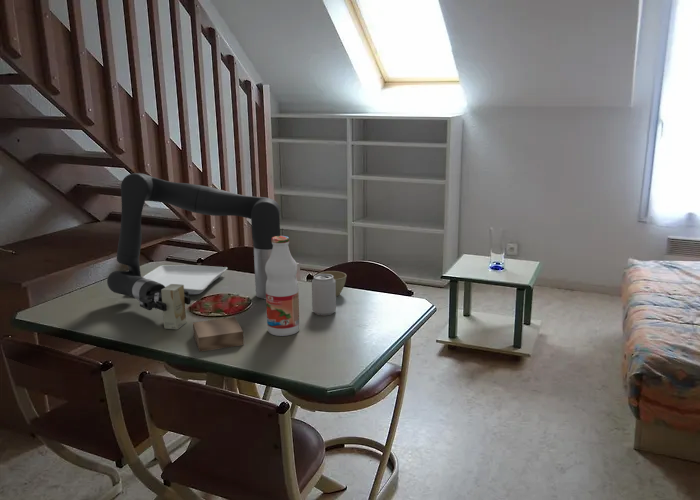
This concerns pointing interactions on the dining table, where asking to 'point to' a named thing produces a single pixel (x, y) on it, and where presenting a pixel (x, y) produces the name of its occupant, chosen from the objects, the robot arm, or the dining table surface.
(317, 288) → the can
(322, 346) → the dining table surface
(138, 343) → the dining table surface
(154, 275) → the square plate
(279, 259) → the fruit juice
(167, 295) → the skincare box
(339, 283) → the beige bowl
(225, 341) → the walnut stand
